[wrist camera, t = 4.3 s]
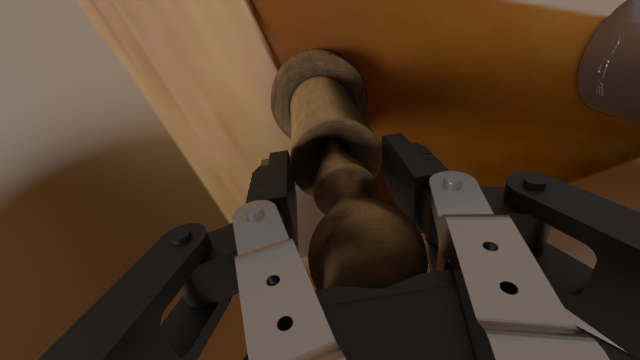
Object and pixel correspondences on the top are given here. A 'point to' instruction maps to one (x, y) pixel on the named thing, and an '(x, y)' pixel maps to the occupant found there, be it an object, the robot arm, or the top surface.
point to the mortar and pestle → (342, 176)
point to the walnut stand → (304, 217)
